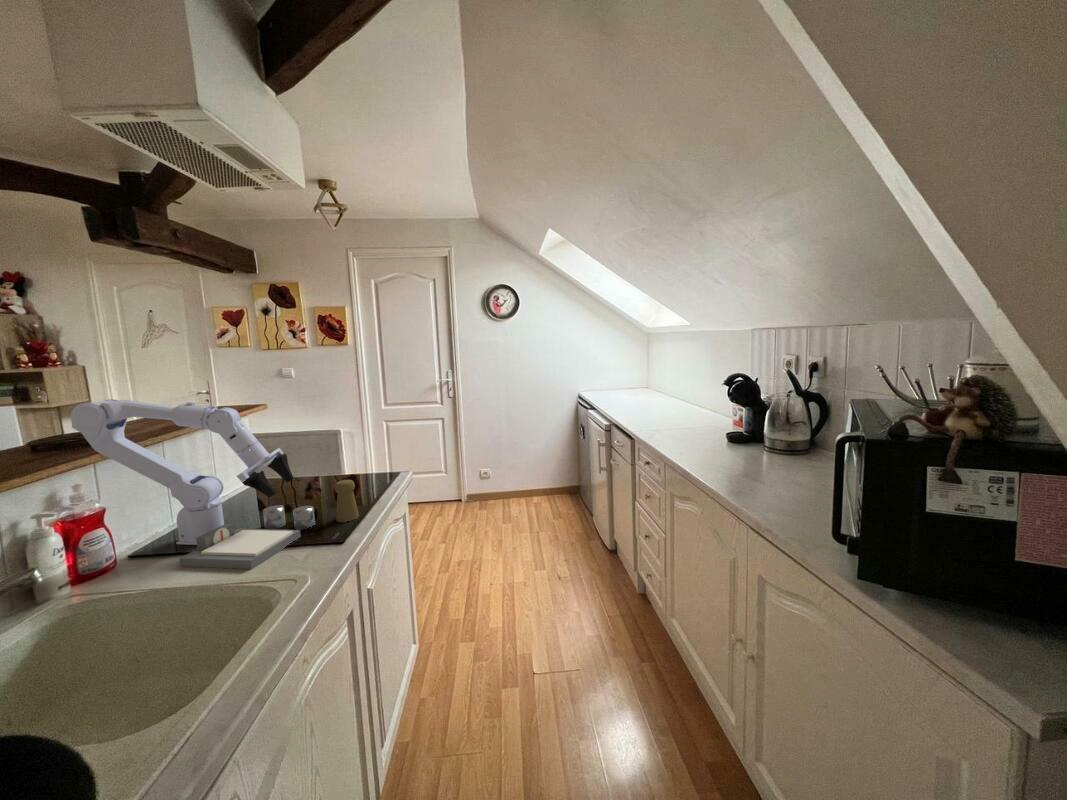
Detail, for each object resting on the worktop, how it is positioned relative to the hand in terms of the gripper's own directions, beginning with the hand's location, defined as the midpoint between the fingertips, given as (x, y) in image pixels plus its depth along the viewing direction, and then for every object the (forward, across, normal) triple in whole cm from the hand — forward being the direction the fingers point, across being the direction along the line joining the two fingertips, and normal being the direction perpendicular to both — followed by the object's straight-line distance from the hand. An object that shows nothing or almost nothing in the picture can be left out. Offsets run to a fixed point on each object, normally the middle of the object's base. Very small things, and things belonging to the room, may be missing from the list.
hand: (282, 487), depth 115 cm
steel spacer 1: (+8, -1, +9) cm, 12 cm away
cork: (+18, +4, -6) cm, 19 cm away
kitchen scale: (+7, -16, +5) cm, 18 cm away
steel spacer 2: (+12, -1, +1) cm, 12 cm away
